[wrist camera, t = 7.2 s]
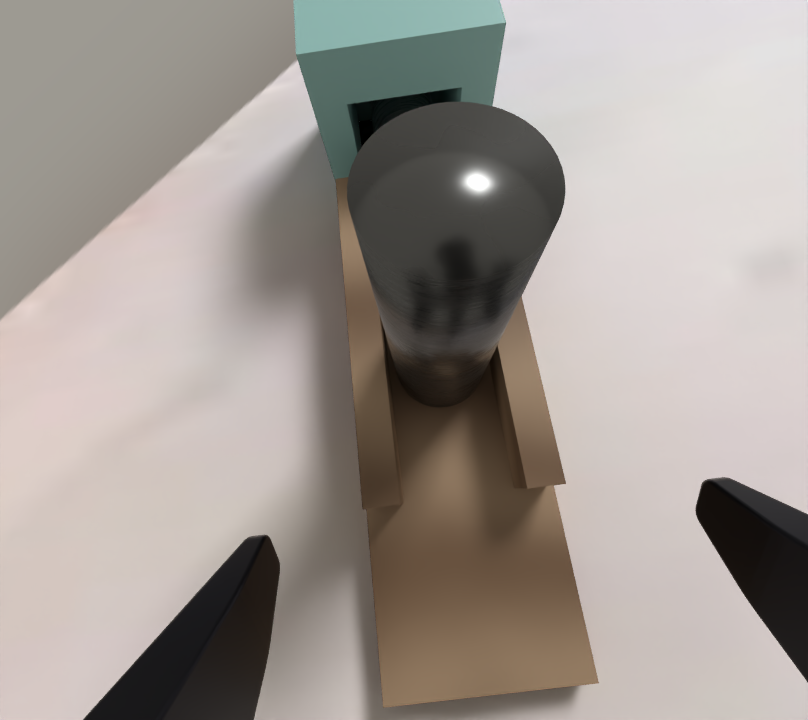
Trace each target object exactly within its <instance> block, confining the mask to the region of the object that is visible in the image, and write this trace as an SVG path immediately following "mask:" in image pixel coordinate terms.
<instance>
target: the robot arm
mask: <svg viewBox="0 0 808 720" xmlns="http://www.w3.org/2000/svg"><path fill="white" fill-rule="evenodd" d="M696 515H697V518H698V520H699V522H700V524H701V526H702V527H703V529H704V531H705V532H706V534H707V535H708V537H709V539H710V540H711V542H712V544H713V545H714V547H715V549H716V550H717V552H718V554H719V555H720V557H721V558H722V560H723V562H724V563H725V565H726V567H727V568H728V570H729V572H730V573H731V575H732V576H733V578H734V580H735V581H736V583H737V585H738V586H739V588H740V589H741V591H742V592H743V594H744V595H745V597H746V598H747V600H748V601H749V603H750V604H751V605H752V607H753V608H754V610H755V611H756V612H757V614H758V615H759V617H760V618H761V619H762V621H763V622H764V623H765V625H766V626H767V627H768V629H769V630H770V632H771V633H772V634H773V636H774V637H775V638H776V640H777V641H778V642H779V644H780V645H781V647H782V648H783V649H784V651H785V652H786V653H787V655H788V656H789V657H790V659H791V660H792V661H793V663H794V664H795V666H796V667H797V668H798V670H799V671H800V672H801V674H802V675H803V676H804V678H805V679H806V681H807V682H808V514H806V513H804V512H802V511H799V510H797V509H795V508H793V507H791V506H789V505H786V504H784V503H782V502H780V501H778V500H776V499H773V498H771V497H769V496H767V495H765V494H763V493H761V492H758V491H756V490H754V489H752V488H750V487H748V486H745V485H743V484H741V483H739V482H737V481H735V480H732V479H730V478H725V477H722V478H713V479H707V480H705V481H704V482H703V483H702V485H701V489H700V493H699V497H698V500H697V504H696ZM279 574H280V563H279V559H278V557H277V554H276V552H275V549H274V547H273V544H272V542H271V539H270V537H269V536H267V535H258V536H251V537H248V538H247V539H245V540H244V541H243V542H242V544H241V545H240V546H239V547H238V548H237V549H236V550H235V551H234V552H233V554H232V555H231V556H230V557H229V558H228V559H227V560H226V561H225V562H224V564H223V565H222V566H221V567H220V568H219V569H218V570H217V571H216V572H215V574H214V575H213V576H212V577H211V578H210V579H209V580H208V581H207V582H206V584H205V585H204V586H203V587H202V588H201V589H200V590H199V591H198V592H197V594H196V595H195V596H194V597H193V598H192V599H191V600H190V601H189V602H188V604H187V605H186V606H185V607H184V608H183V609H182V610H181V611H180V612H179V614H178V615H177V616H176V617H175V618H174V619H173V620H172V621H171V622H170V624H169V625H168V626H167V627H166V628H165V629H164V630H163V631H162V632H161V634H160V635H159V636H158V637H157V638H156V639H155V640H154V641H153V642H152V644H151V645H150V646H149V647H148V648H147V649H146V650H145V651H144V652H143V654H142V655H141V656H140V657H139V658H138V659H137V660H136V661H135V662H134V664H133V665H132V666H131V667H130V668H129V669H128V670H127V671H126V672H125V674H124V675H123V676H122V677H121V678H120V679H119V680H118V681H117V682H116V684H115V685H114V686H113V687H112V688H111V689H110V690H109V691H108V692H107V694H106V695H105V696H104V697H103V698H102V699H101V700H100V701H99V702H98V704H97V705H96V706H95V707H94V708H93V709H92V710H91V711H90V712H89V714H88V715H87V716H86V717H85V718H84V719H83V720H254V716H255V711H256V707H257V703H258V698H259V694H260V690H261V686H262V681H263V677H264V673H265V668H266V664H267V659H268V654H269V648H270V641H271V634H272V627H273V619H274V611H275V604H276V596H277V589H278V581H279Z"/></svg>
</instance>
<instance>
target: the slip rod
mask: <svg viewBox="0 0 808 720" xmlns="http://www.w3.org/2000/svg"><path fill="white" fill-rule="evenodd" d="M370 109H371V117H372V125H373V133H374V134H372V135H371V136H370V138H369V139H368V140H367V141H366V142H365V143H364V144H363V146H362V147H361V149H360V150H359V152H358V154H357V155H356V157H355V159H354V162H353V164H352V166H351V170H350V173H349V176H348V183H347V201H348V207H349V212H350V215H351V218H352V222H353V225H354V229H355V232H356V235H357V239H358V242H359V246H360V249H361V252H362V256H363V259H364V263H365V266H366V270H367V273H368V276H369V280H370V283H371V287H372V290H373V293H374V297H375V300H376V304H377V307H378V310H379V314H380V317H381V321H382V324H383V328H384V331H385V334H386V338H387V341H388V345H389V348H390V351H391V355H392V358H393V362H394V365H395V368H396V372H397V375H398V378H399V381H400V383H401V385H402V387H403V388H404V390H405V391H406V392H407V393H408V395H409V396H411V397H412V398H413V399H415V400H416V401H418V402H420V403H422V404H424V405H427V406H431V407H449V406H453V405H456V404H458V403H460V402H462V401H464V400H465V399H467V398H468V397H469V396H470V395H471V394H472V393H473V392H474V391H475V389H476V388H477V386H478V384H479V382H480V380H481V378H482V376H483V374H484V372H485V370H486V368H487V366H488V364H489V362H490V360H491V358H492V355H493V353H494V351H495V349H496V347H497V345H498V343H499V341H500V339H501V337H502V335H503V333H504V331H505V329H506V327H507V325H508V323H509V321H510V318H511V316H512V314H513V312H514V310H515V308H516V306H517V304H518V302H519V300H520V298H521V296H522V294H523V292H524V290H525V288H526V286H527V284H528V282H529V279H530V277H531V275H532V273H533V271H534V269H535V267H536V265H537V263H538V261H539V259H540V257H541V255H542V253H543V251H544V249H545V247H546V245H547V242H548V240H549V238H550V236H551V234H552V232H553V230H554V228H555V226H556V224H557V222H558V220H559V217H560V215H561V212H562V208H563V205H564V198H565V179H564V174H563V170H562V166H561V164H560V161H559V159H558V156H557V155H556V153H555V151H554V149H553V148H552V146H551V145H550V144H549V142H548V141H547V140H546V139H545V137H544V136H543V135H542V134H541V133H540V132H539V131H538V130H537V129H536V128H534V127H533V126H532V125H530V124H529V123H527V122H526V121H525V120H523V119H521V118H519V117H518V116H516V115H514V114H512V113H510V112H507V111H505V110H503V109H499V108H496V107H493V106H490V105H485V104H480V103H472V102H444V103H436V104H432V99H431V94H430V92H427V93H420V94H413V95H407V96H400V97H393V98H387V99H380V100H373V101H370Z"/></svg>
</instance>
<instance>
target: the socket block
mask: <svg viewBox="0 0 808 720" xmlns="http://www.w3.org/2000/svg"><path fill="white" fill-rule="evenodd" d="M294 20H295V39H296V40H295V41H296V55H297V59H298V62H299V65H300V68H301V72H302V75H303V78H304V81H305V85H306V88H307V91H308V94H309V97H310V101H311V104H312V107H313V110H314V114H315V117H316V120H317V123H318V127H319V130H320V133H321V136H322V139H323V143H324V146H325V149H326V152H327V156H328V159H329V162H330V165H331V168H332V172H333V175H334V178H335V181H336V179H338V178H345V177H348V176H349V173H350V170H351V166H352V164H353V162H354V159H355V157H356V155H357V154H358V152H359V150H360V149H361V139H360V130H359V121H365V120H371V119H372V117H371V109H370V101H373V100H380V99H387V98H393V97H400V96H407V95H413V94H420V93H427V92H430V94H431V99H432V104H436V103H444V102H472V103H480V104H485V105H490V106H492V104H493V98H494V92H495V86H496V80H497V74H498V68H499V62H500V56H501V50H502V44H503V38H504V32H505V26H506V20H505V17H504V14H503V10H502V7H501V4H500V0H294Z"/></svg>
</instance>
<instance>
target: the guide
mask: <svg viewBox="0 0 808 720" xmlns="http://www.w3.org/2000/svg"><path fill="white" fill-rule="evenodd" d="M347 183H348V177H345V178H338V179H336V190H337V202H338V215H339V227H340V239H341V251H342V263H343V276H344V288H345V300H346V312H347V324H348V337H349V349H350V361H351V373H352V385H353V398H354V410H355V422H356V434H357V446H358V459H359V471H360V483H361V495H362V507H363V509H366V511H367V522H368V534H369V546H370V558H371V569H372V581H373V593H374V605H375V617H376V628H377V640H378V652H379V664H380V676H381V687H382V699H383V708H385V707H394V706H403V705H412V704H420V703H429V702H438V701H447V700H455V699H464V698H473V697H482V696H490V695H499V694H508V693H517V692H525V691H534V690H543V689H552V688H560V687H569V686H578V685H587V684H595V683H599V682H598V678H597V673H596V669H595V665H594V660H593V656H592V652H591V647H590V643H589V638H588V634H587V630H586V625H585V621H584V617H583V612H582V608H581V603H580V599H579V595H578V590H577V586H576V581H575V577H574V573H573V568H572V564H571V560H570V555H569V551H568V546H567V542H566V538H565V533H564V529H563V525H562V520H561V516H560V511H559V507H558V503H557V498H556V494H555V489H554V485H560V484H566V482H565V478H564V473H563V469H562V465H561V461H560V457H559V452H558V448H557V444H556V440H555V436H554V431H553V427H552V423H551V419H550V415H549V410H548V406H547V402H546V398H545V394H544V389H543V385H542V381H541V377H540V373H539V368H538V364H537V360H536V356H535V352H534V347H533V343H532V339H531V335H530V331H529V326H528V322H527V318H526V314H525V310H524V305H523V301H522V297H521V298H520V300H519V302H518V304H517V306H516V308H515V310H514V312H513V314H512V316H511V318H510V321H509V323H508V325H507V327H506V329H505V331H504V333H503V335H502V337H501V339H500V341H499V343H498V345H497V347H496V349H495V351H494V353H493V355H492V358H491V360H490V362H489V364H488V366H487V368H486V370H485V372H484V374H483V376H482V378H481V380H480V382H479V384H478V386H477V388H476V389H475V391H474V392H473V393H472V394H471V395H470V396H469V397H468V398H467V399H465V400H464V401H462V402H460V403H458V404H456V405H453V406H449V407H431V406H427V405H424V404H422V403H420V402H418V401H416V400H415V399H413V398H412V397H411V396H409V395H408V393H407V392H406V391H405V390H404V388H403V387H402V385H401V383H400V381H399V378H398V375H397V372H396V368H395V365H394V362H393V358H392V355H391V351H390V348H389V345H388V341H387V338H386V334H385V331H384V328H383V324H382V321H381V317H380V314H379V310H378V307H377V304H376V300H375V297H374V293H373V290H372V287H371V283H370V280H369V276H368V273H367V270H366V266H365V263H364V259H363V256H362V252H361V249H360V246H359V242H358V239H357V235H356V232H355V229H354V225H353V222H352V218H351V215H350V212H349V207H348V201H347Z"/></svg>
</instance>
